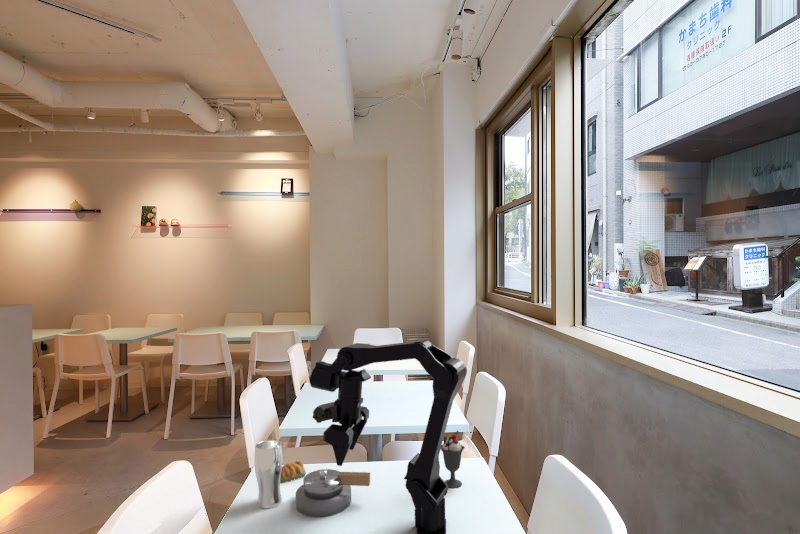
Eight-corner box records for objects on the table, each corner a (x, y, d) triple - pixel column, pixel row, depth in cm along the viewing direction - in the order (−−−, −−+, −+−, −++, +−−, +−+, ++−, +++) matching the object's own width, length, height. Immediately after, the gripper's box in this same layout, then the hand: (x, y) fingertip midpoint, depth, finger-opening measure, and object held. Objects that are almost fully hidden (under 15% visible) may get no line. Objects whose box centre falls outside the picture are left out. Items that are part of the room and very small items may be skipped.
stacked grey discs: (356, 489, 126) (355, 478, 126) (344, 518, 112) (344, 505, 112) (305, 488, 128) (305, 477, 128) (288, 516, 114) (287, 503, 114)
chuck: (298, 498, 115) (297, 479, 115) (310, 480, 125) (309, 462, 125) (366, 500, 114) (365, 481, 114) (373, 481, 124) (372, 463, 124)
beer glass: (249, 506, 119) (248, 447, 119) (269, 493, 125) (267, 437, 125) (270, 512, 116) (268, 451, 116) (289, 499, 122) (287, 441, 122)
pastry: (277, 487, 129) (276, 473, 129) (267, 479, 134) (266, 466, 134) (307, 477, 135) (307, 463, 135) (296, 469, 140) (296, 456, 140)
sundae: (465, 490, 124) (463, 434, 124) (439, 489, 126) (438, 433, 125) (465, 479, 131) (464, 425, 131) (441, 477, 132) (440, 424, 132)
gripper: (331, 380, 126) (327, 437, 127) (304, 402, 108) (299, 468, 108) (371, 386, 124) (367, 444, 125) (350, 409, 106) (345, 477, 106)
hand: (345, 457), depth 116 cm, fingers open, 9 cm apart
